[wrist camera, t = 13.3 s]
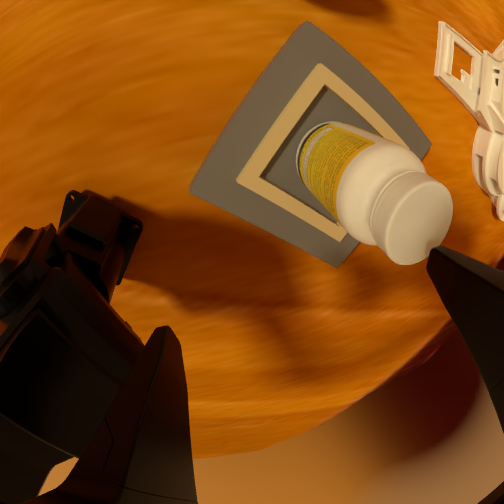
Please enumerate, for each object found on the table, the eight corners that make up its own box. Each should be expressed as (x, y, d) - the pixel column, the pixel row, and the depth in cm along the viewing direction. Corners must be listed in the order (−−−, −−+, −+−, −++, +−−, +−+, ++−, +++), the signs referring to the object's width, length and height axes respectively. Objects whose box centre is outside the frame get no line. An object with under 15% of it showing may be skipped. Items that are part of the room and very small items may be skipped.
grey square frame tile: (331, 258, 24) (340, 272, 23) (190, 185, 19) (188, 196, 17) (421, 139, 19) (436, 146, 17) (300, 24, 13) (311, 18, 11)
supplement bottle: (295, 198, 19) (360, 290, 11) (291, 121, 16) (378, 162, 8) (361, 190, 19) (446, 266, 11) (364, 120, 16) (473, 163, 8)
